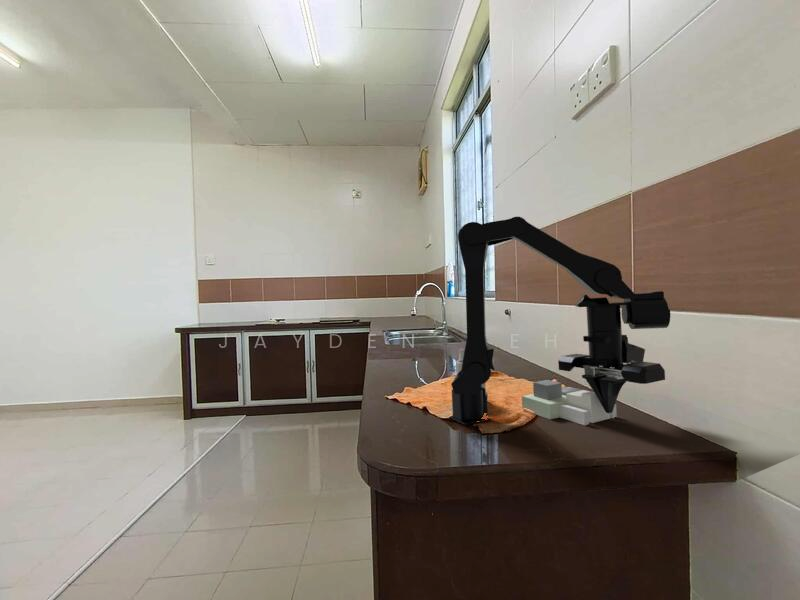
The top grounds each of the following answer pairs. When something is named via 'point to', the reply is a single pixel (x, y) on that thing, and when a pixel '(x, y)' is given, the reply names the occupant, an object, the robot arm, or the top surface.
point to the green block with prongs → (555, 402)
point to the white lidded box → (587, 404)
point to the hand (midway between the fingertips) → (609, 412)
